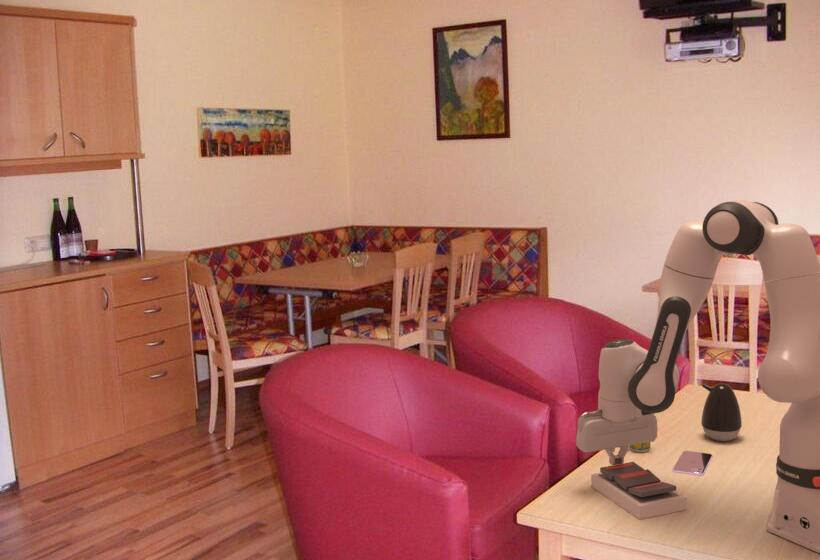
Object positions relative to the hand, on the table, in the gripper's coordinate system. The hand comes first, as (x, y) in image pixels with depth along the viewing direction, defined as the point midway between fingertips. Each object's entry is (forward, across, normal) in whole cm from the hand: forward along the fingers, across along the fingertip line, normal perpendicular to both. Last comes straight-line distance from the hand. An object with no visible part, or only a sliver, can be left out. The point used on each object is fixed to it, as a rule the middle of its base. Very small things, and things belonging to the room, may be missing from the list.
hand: (616, 463), depth 215 cm
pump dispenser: (+5, +42, +16) cm, 45 cm away
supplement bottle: (+5, +18, +17) cm, 25 cm away
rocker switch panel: (+5, 0, -9) cm, 10 cm away
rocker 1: (+1, 0, -3) cm, 3 cm away
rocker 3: (+1, 0, -15) cm, 15 cm away
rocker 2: (+1, 0, -9) cm, 9 cm away
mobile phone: (+6, +24, +3) cm, 25 cm away
